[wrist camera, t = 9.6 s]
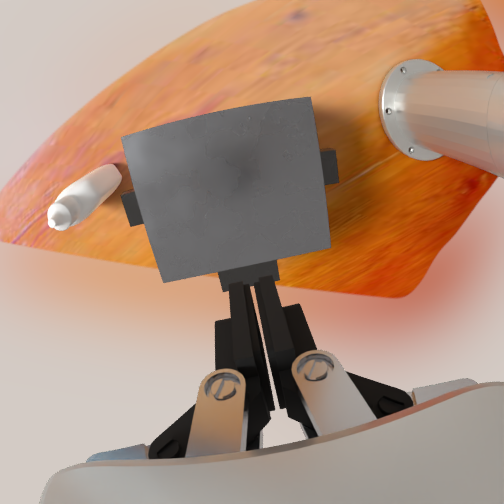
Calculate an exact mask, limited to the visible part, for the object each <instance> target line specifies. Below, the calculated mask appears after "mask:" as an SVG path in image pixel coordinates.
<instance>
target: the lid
mask: <svg viewBox="0 0 504 504" xmlns="http://www.w3.org/2000/svg"><path fill="white" fill-rule="evenodd" d="M121 140H122V144H123V148H124V152H125V156H126V160H127V164H128V168H129V172H130V176H131V179H132V183H133V187H134V190H135V194H136V198H137V201H138V205H139V208H140V211H141V215H142V218H143V222H144V225H145V228H146V231H147V235H148V238H149V241H150V244H151V247H152V250H153V253H154V256H155V260H156V263H157V265H158V268H159V271H160V274H161V277H162V280H163V283H166V282H171V281H176V280H181V279H186V278H190V277H196V276H200V275H205V274H210V273H215V272H218V275H219V279H220V282H221V286H222V290H223V292H226V291H229V284H231V283H236V282H241V281H243V284H244V285H245V284H249V286H254V282H259V279H258V278H259V277H264V276H269V275H272V276H273V279H274V281H278V280H280V278H279V272H278V266H277V259H281V258H286V257H291V256H295V255H300V254H305V253H309V252H314V251H318V250H323V249H328V248H331V242H330V231H329V221H328V212H327V203H326V195H325V187H324V179H323V171H322V164H321V157H320V150H319V143H318V137H317V131H316V124H315V118H314V113H313V107H312V101H311V97H303V98H295V99H288V100H280V101H273V102H267V103H261V104H255V105H249V106H243V107H238V108H233V109H228V110H223V111H218V112H213V113H209V114H204V115H200V116H196V117H191V118H187V119H183V120H179V121H175V122H171V123H168V124H164V125H160V126H157V127H153V128H150V129H146V130H143V131H140V132H136V133H133V134H130V135H127V136H123V137H121Z"/></svg>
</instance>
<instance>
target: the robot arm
mask: <svg viewBox="0 0 504 504" xmlns="http://www.w3.org/2000/svg"><path fill="white" fill-rule="evenodd" d="M400 70H401V71H400ZM386 110H387V111H386ZM385 111H386V112H385ZM379 114H380V119H381V123H382V126H383V128H384V131H385V133H386V135H387V136H388V138H389V140H390V141H391V142H392V144H393V145H394V146H395V147H396V148H397V149H398V150H399V151H401V152H402V153H403V154H405V155H407V156H409V157H411V158H414V159H417V160H423V161H428V160H434V159H437V158H440V157H441V156H443V155H445V156H448V157H451V158H453V159H456V160H459V161H462V162H464V163H467V164H470V165H472V166H475V167H477V168H480V169H482V170H485V171H487V172H490V173H492V174H495V175H497V176H499V177H502V178H504V72H496V71H444V70H443V69H442V68H440V67H439V66H437V65H436V64H434V63H432V62H430V61H427V60H422V59H412V60H406V61H403V62H401V63H399V64H397V65H396V66H394V67H393V68H392V69H391V70H390V71H389V73H388V74H387V75H386V77H385V79H384V81H383V83H382V86H381V89H380V93H379ZM258 279H259V282H254V288H255V293H256V299H257V303H258V309H259V314H260V319H261V324H262V328H263V334H264V339H265V345H266V350H267V354H268V359H269V363H270V368H271V372H272V376H273V381H274V385H275V389H276V393H277V398H278V402H279V406H280V409H283V408H286V409H287V414H288V417H289V418H291V419H294V420H296V421H298V422H300V426H301V429H302V431H303V433H304V435H305V437H306V440H302V441H298V442H293V443H289V444H284V445H279V446H274V447H269V448H263V432H262V429H263V428H264V427H265V426H266V425H267V423H268V422H269V421H270V420H271V417H270V411H274V410H275V406H274V401H273V395H272V390H271V386H270V379H269V374H268V369H267V364H266V358H265V353H264V348H263V342H262V338H261V333H260V329H259V325H258V321H257V316H256V312H255V308H254V303H253V299H252V295H251V290H250V286H249V284H245V285H244V284H243V281H241V282H236V283H231V284H229V299H230V312H231V318H229V319H224V320H218V321H216V322H215V368H216V371H214V372H211V373H210V374H209V375H207V376H206V377H205V378H204V379H203V380H202V382H201V385H200V387H199V392H198V396H197V401H196V404H195V405H193V406H192V407H191V408H190V409H189V410H188V411H187V412H186V413H185V414H183V415H182V416H181V417H180V418H179V419H178V420H177V421H175V422H174V423H173V424H172V425H171V426H170V427H169V428H168V429H166V430H165V431H164V432H163V433H162V434H161V435H159V436H158V437H157V438H156V439H155V440H154V441H153V442H152V444H151V445H148V446H146V445H144V444H140V445H135V446H131V447H127V448H122V449H117V450H112V451H108V452H101V453H97V454H94V455H92V456H91V457H90V458H88V459H87V461H86V463H81V464H77V465H74V466H71V467H67V468H65V469H62V470H60V471H59V472H57V473H55V474H54V475H53V476H52V477H51V478H50V479H49V480H48V482H47V484H46V486H45V488H44V490H43V493H42V496H41V499H40V502H39V504H504V382H488V383H487V382H486V383H480V384H478V383H477V382H475V381H474V380H471V379H468V378H466V379H458V380H455V381H449V382H445V383H440V384H435V385H430V386H425V387H419V388H414V389H413V391H412V392H407V393H406V392H405V391H403V390H400V389H398V388H395V387H391V386H388V385H385V384H382V383H379V382H376V381H373V380H370V379H367V378H364V377H361V376H358V375H355V374H352V373H349V372H346V371H345V370H344V368H343V367H342V365H341V364H340V362H339V361H338V359H337V358H336V357H335V356H334V355H333V354H331V353H329V352H327V351H323V350H317V348H316V345H315V343H314V340H313V337H312V335H311V332H310V329H309V327H308V324H307V322H306V319H305V316H304V313H303V311H302V308H301V306H300V304H295V305H290V306H286V307H282V306H281V303H280V299H279V296H278V293H277V289H276V286H275V282H274V279H273V276H272V275H269V276H264V277H259V278H258Z"/></svg>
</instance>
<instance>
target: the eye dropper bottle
mask: <svg viewBox="0 0 504 504" xmlns="http://www.w3.org/2000/svg"><path fill="white" fill-rule="evenodd" d="M121 180H122V176H121V174H120V172H119V171H118V170H117V168H116V167H115V165H113V164H106V165H103V166H101V167H99V168H97V169H95V170H93V171H92V172H90V173H88V174H87V175H85V176H83V177H82V178H80V179H79V180H77V181H76V182H74V183H72V184H71V185H69V186H68V187H67V188H66V189H64V190H63V191H62V192H61V193H60V195H59V196H58V197H57V199H56V201H55V203H54V204H52V205H51V206H50V208H49V210H48V220H49V221H48V225H49V226H50V227H51V228H55V229H57V230H61V231H63V230H66V229H68V228H69V227H71V226H74V225H76V224H78V223H80V222H82V221H83V220H85V219H86V218H87V217H88V216H89V215H90V214H91V213H92V212H93V211H94V210H95V209H96V208H97V207H98V206H100V205H101V204H102V203H103V202H104V201H105V200H106V199H107V198H108V197H109V196H110V195H111V194H112V193H113V192H114V191H115V190H116V189H117V187H118V186H119V184H120V183H121Z"/></svg>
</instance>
